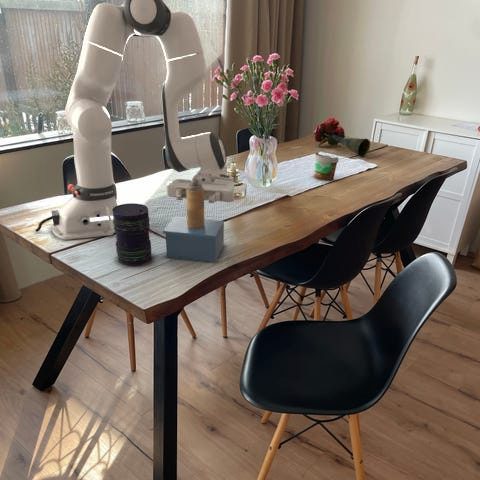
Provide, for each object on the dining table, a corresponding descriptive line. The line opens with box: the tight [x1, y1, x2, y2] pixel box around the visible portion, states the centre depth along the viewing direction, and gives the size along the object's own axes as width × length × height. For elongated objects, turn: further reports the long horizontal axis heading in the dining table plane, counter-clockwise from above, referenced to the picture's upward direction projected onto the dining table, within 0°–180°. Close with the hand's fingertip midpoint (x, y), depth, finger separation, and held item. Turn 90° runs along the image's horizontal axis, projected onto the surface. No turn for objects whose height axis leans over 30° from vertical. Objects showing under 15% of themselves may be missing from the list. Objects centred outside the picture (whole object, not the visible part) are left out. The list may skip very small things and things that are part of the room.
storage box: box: [165, 223, 225, 263], centre depth 145 cm, size 15×12×7 cm
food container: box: [313, 151, 339, 181], centre depth 213 cm, size 12×6×10 cm, turn 42°
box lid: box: [162, 216, 225, 238], centre depth 143 cm, size 15×12×1 cm
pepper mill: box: [185, 178, 205, 229], centre depth 139 cm, size 5×5×14 cm
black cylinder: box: [112, 202, 153, 267], centre depth 137 cm, size 10×10×15 cm
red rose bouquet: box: [313, 117, 371, 158], centre depth 262 cm, size 16×18×35 cm
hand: (194, 198), depth 138 cm, fingers open, 8 cm apart
